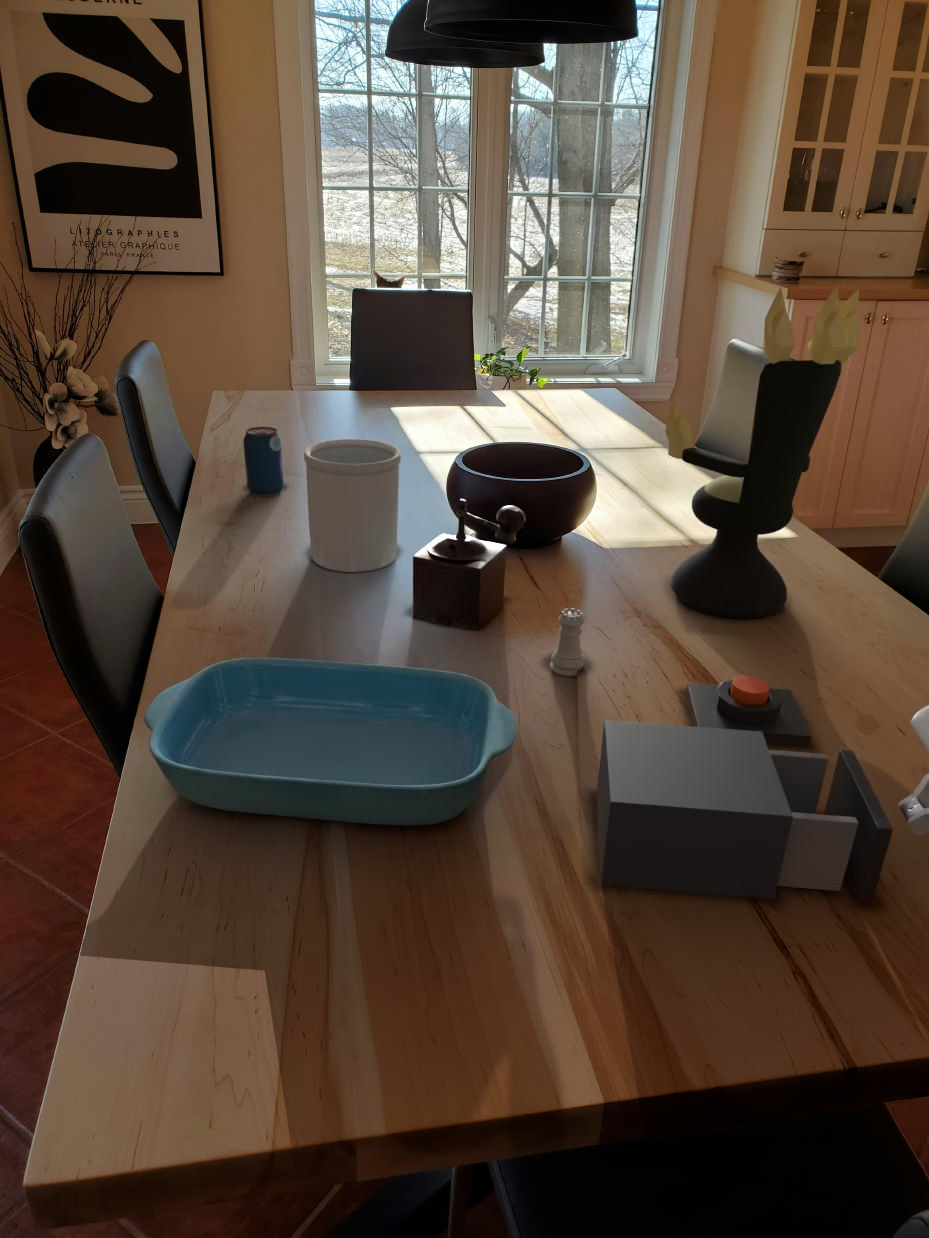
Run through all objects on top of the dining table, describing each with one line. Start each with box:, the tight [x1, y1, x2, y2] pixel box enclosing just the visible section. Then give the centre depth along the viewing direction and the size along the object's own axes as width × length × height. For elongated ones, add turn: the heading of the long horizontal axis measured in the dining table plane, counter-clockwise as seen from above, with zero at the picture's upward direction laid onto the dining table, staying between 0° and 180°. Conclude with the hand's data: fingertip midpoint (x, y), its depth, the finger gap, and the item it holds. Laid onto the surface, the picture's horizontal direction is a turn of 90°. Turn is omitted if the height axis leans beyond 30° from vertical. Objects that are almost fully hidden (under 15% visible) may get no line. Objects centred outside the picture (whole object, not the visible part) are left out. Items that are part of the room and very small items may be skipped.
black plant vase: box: [664, 286, 860, 619], centre depth 123 cm, size 19×22×45 cm
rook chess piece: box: [549, 607, 586, 678], centre depth 111 cm, size 4×4×8 cm
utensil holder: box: [303, 438, 402, 573], centre depth 141 cm, size 15×15×18 cm
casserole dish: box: [143, 657, 517, 826], centre depth 91 cm, size 37×22×7 cm, turn 85°
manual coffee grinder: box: [412, 498, 527, 631], centre depth 123 cm, size 16×11×18 cm
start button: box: [730, 674, 771, 705], centre depth 101 cm, size 4×4×2 cm
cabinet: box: [595, 719, 793, 901], centre depth 81 cm, size 15×13×10 cm
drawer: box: [769, 748, 894, 903], centre depth 80 cm, size 15×11×8 cm
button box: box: [685, 679, 813, 748], centre depth 102 cm, size 12×10×4 cm
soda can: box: [242, 426, 285, 497], centre depth 171 cm, size 7×7×12 cm
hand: (906, 820), depth 79 cm, fingers closed
